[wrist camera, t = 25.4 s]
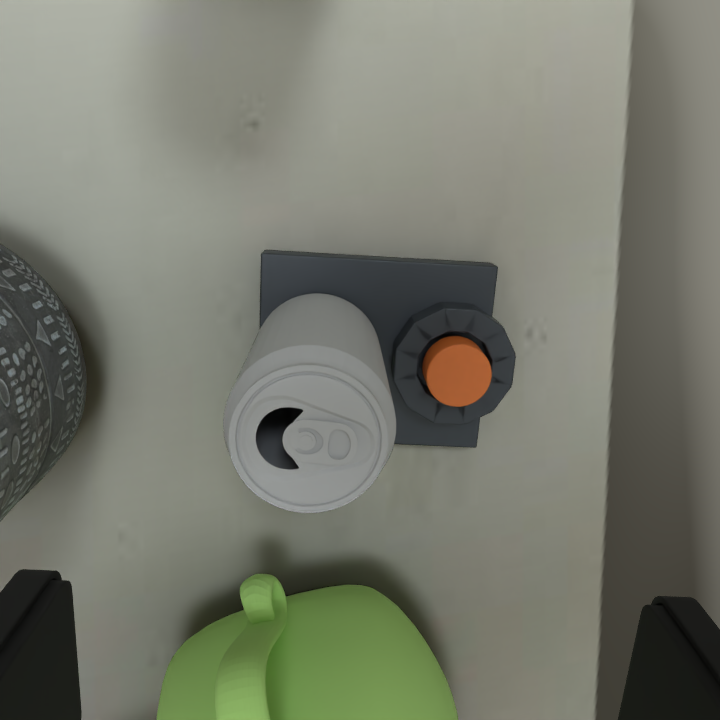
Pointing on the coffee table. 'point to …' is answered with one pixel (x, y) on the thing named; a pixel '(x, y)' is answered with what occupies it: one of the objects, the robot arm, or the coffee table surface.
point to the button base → (407, 326)
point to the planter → (34, 379)
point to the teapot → (307, 661)
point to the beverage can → (311, 407)
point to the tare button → (456, 371)
